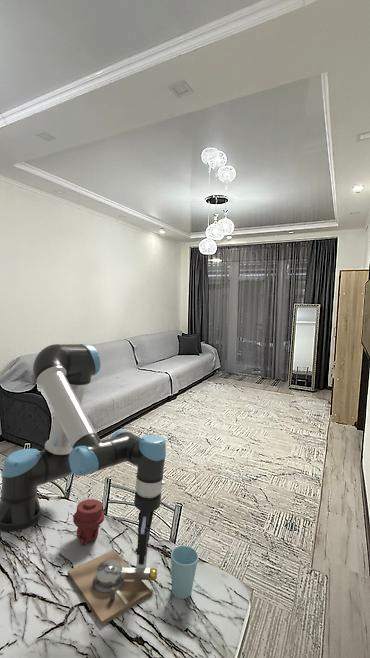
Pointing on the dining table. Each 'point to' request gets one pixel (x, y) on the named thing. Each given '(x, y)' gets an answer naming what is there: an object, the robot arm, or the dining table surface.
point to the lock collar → (121, 573)
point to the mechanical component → (88, 519)
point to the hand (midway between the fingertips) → (140, 571)
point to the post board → (107, 589)
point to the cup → (183, 570)
